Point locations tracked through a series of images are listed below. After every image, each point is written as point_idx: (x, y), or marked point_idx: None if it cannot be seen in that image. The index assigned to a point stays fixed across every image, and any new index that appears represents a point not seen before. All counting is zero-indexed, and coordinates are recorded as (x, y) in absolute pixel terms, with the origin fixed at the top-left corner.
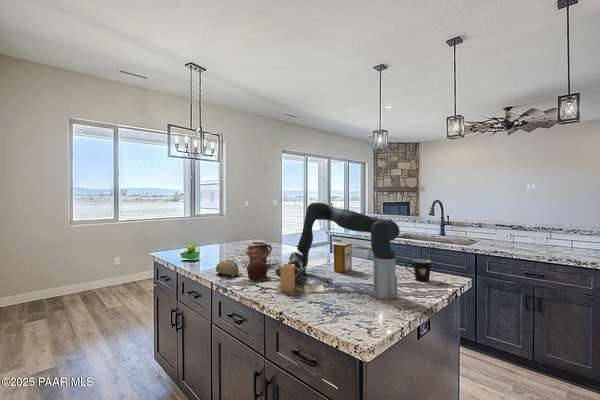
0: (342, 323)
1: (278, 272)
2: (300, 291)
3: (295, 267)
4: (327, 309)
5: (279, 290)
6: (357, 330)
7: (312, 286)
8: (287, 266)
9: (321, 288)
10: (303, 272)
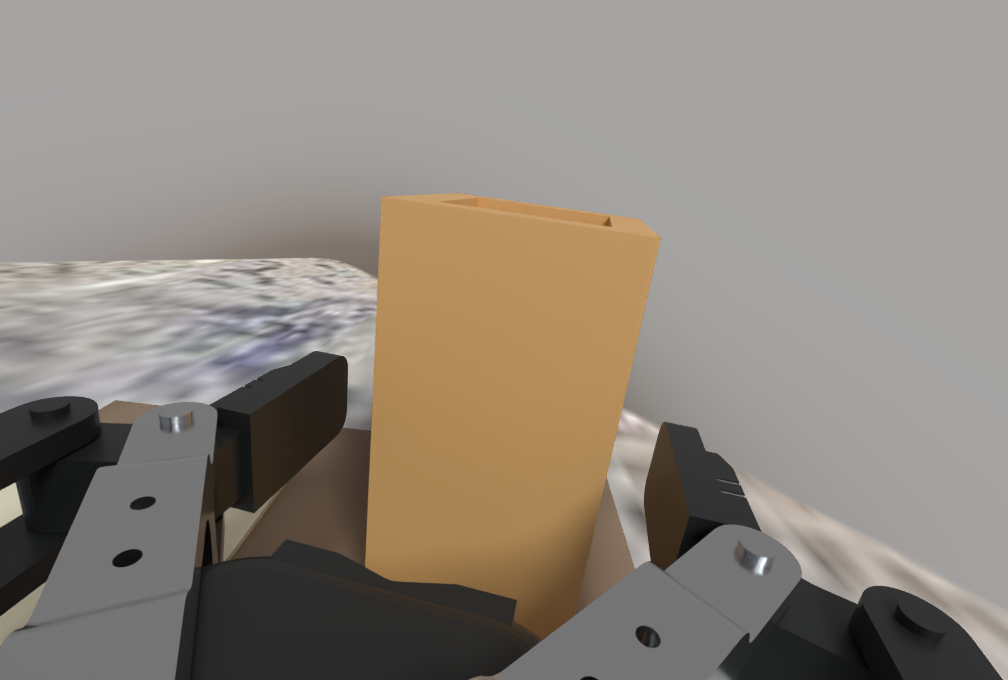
0: (309, 291)
1: (744, 498)
2: (344, 480)
3: (106, 613)
4: (288, 338)
5: (596, 545)
6: (293, 275)
7: (40, 587)
8: (536, 206)
9: (10, 492)
10: (106, 437)
